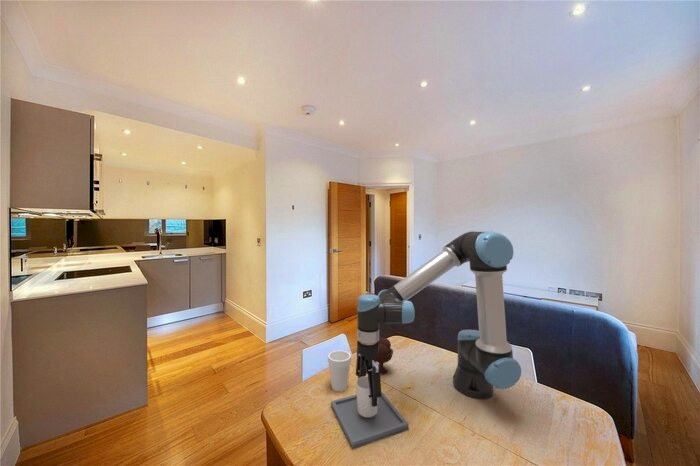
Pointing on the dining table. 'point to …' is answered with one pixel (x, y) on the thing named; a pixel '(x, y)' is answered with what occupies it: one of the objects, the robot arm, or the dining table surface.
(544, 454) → the dining table surface
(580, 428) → the dining table surface
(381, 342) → the ice cream bowl
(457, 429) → the dining table surface
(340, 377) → the foam cup
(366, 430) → the tray
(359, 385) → the white cup
